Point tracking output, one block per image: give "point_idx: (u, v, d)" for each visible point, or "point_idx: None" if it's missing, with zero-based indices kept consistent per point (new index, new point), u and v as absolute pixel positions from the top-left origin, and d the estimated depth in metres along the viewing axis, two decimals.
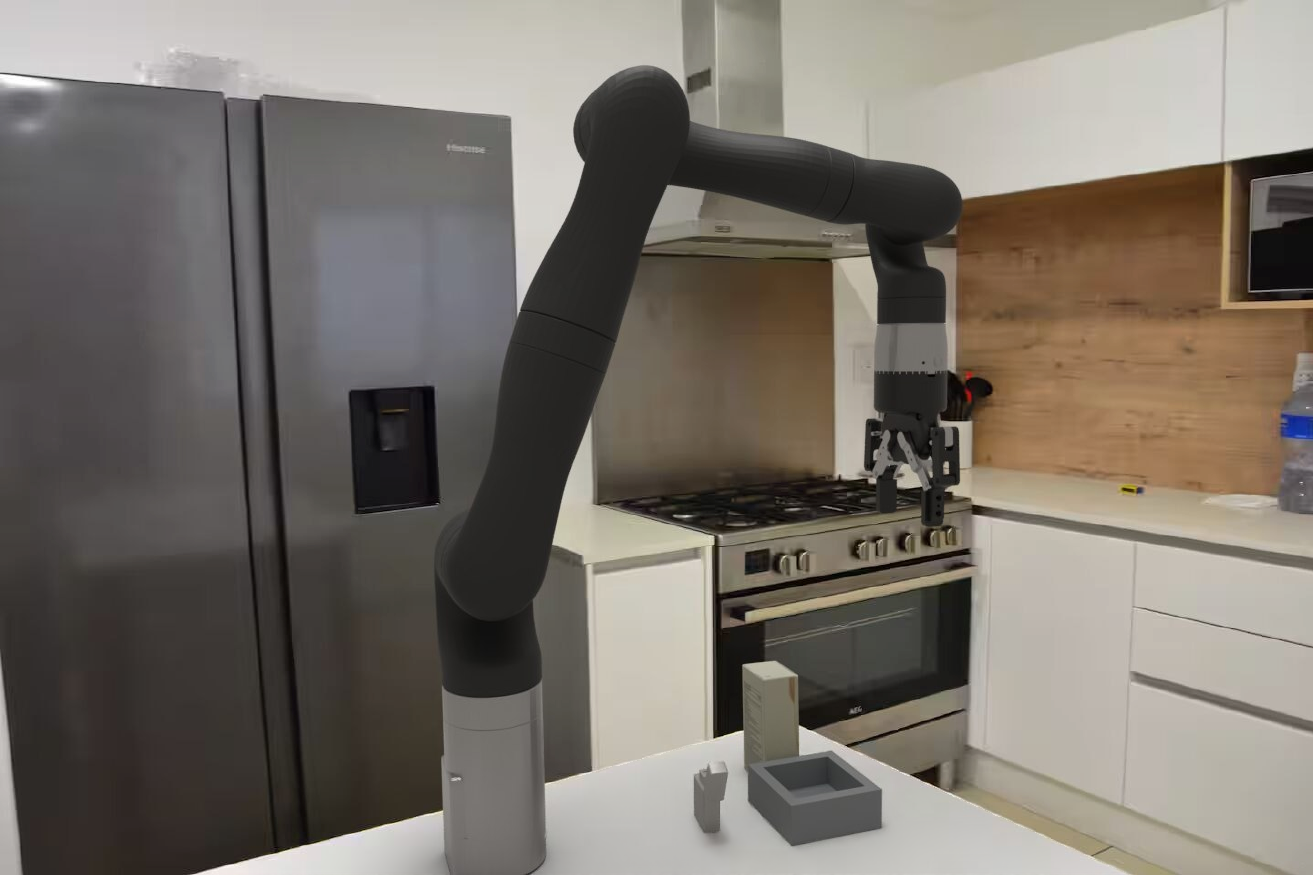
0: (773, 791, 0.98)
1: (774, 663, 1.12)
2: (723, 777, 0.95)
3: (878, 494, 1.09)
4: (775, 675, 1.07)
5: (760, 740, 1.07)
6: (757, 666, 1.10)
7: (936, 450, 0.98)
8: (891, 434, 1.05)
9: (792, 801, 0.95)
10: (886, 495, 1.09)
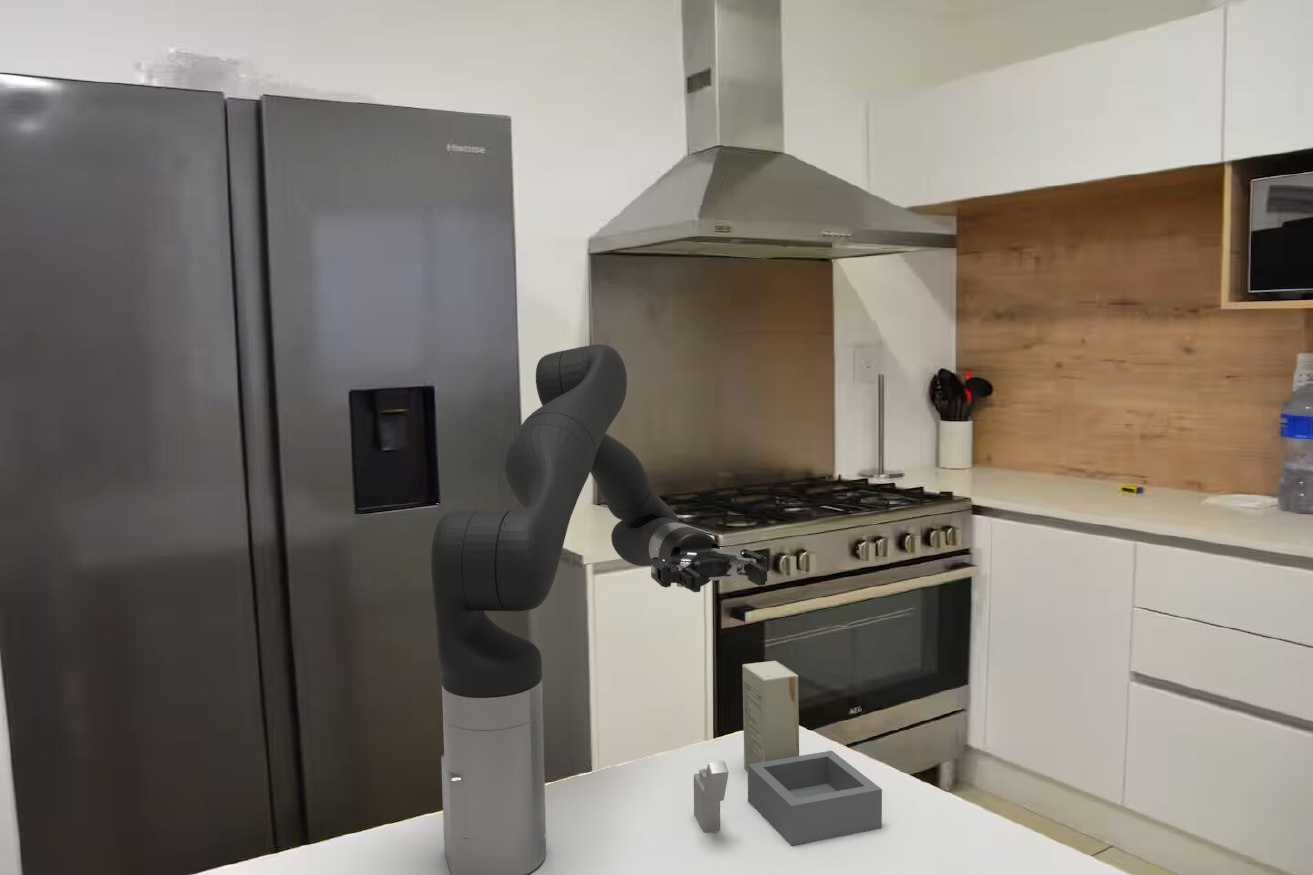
0: (773, 791, 0.98)
1: (774, 663, 1.12)
2: (724, 777, 0.95)
3: (692, 570, 1.19)
4: (775, 675, 1.07)
5: (760, 740, 1.07)
6: (757, 666, 1.10)
7: (751, 552, 1.28)
8: None
9: (792, 801, 0.95)
10: None
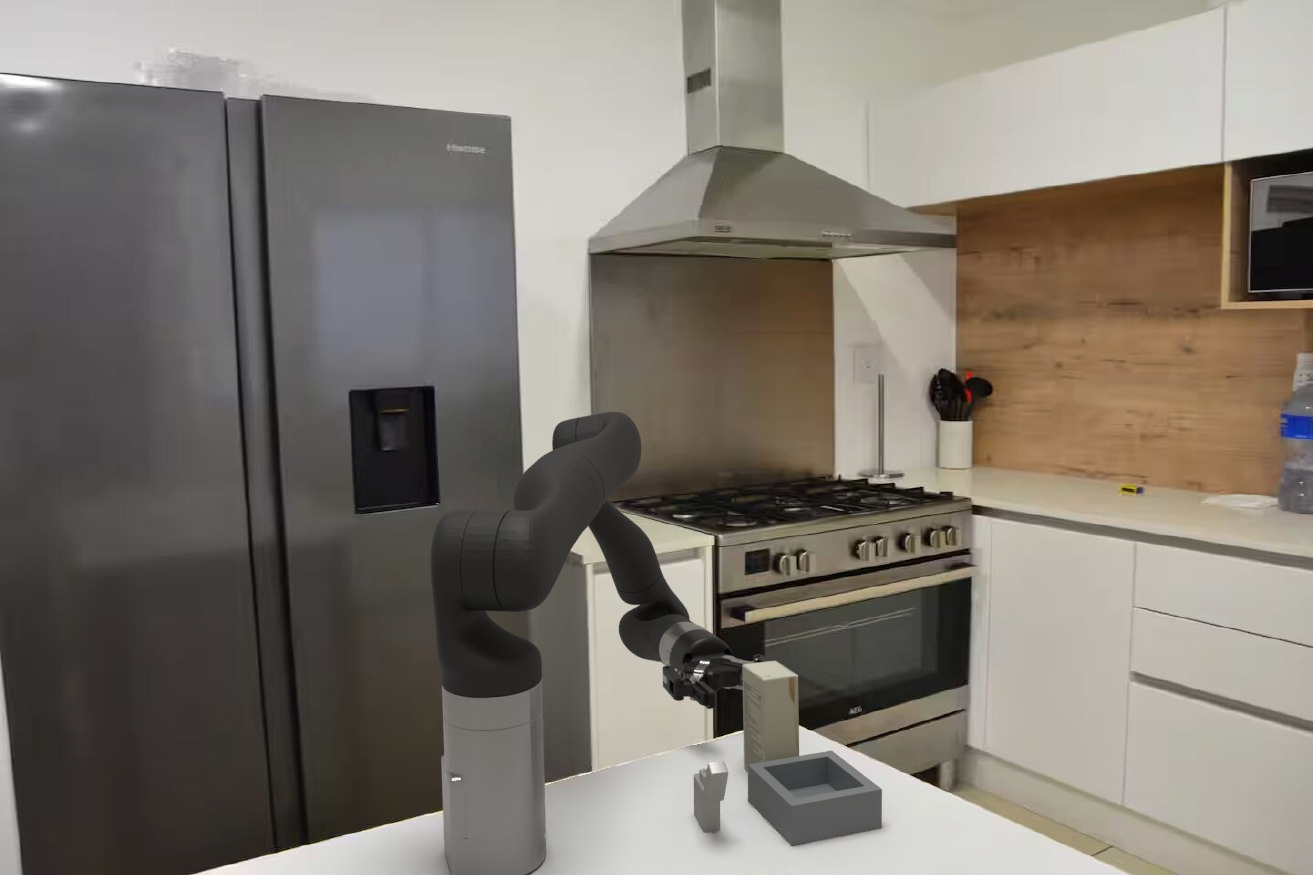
0: (773, 791, 0.98)
1: (774, 663, 1.12)
2: (723, 777, 0.95)
3: (705, 685, 1.16)
4: (775, 675, 1.07)
5: (760, 740, 1.07)
6: (757, 666, 1.10)
7: (765, 659, 1.25)
8: None
9: (792, 801, 0.95)
10: None
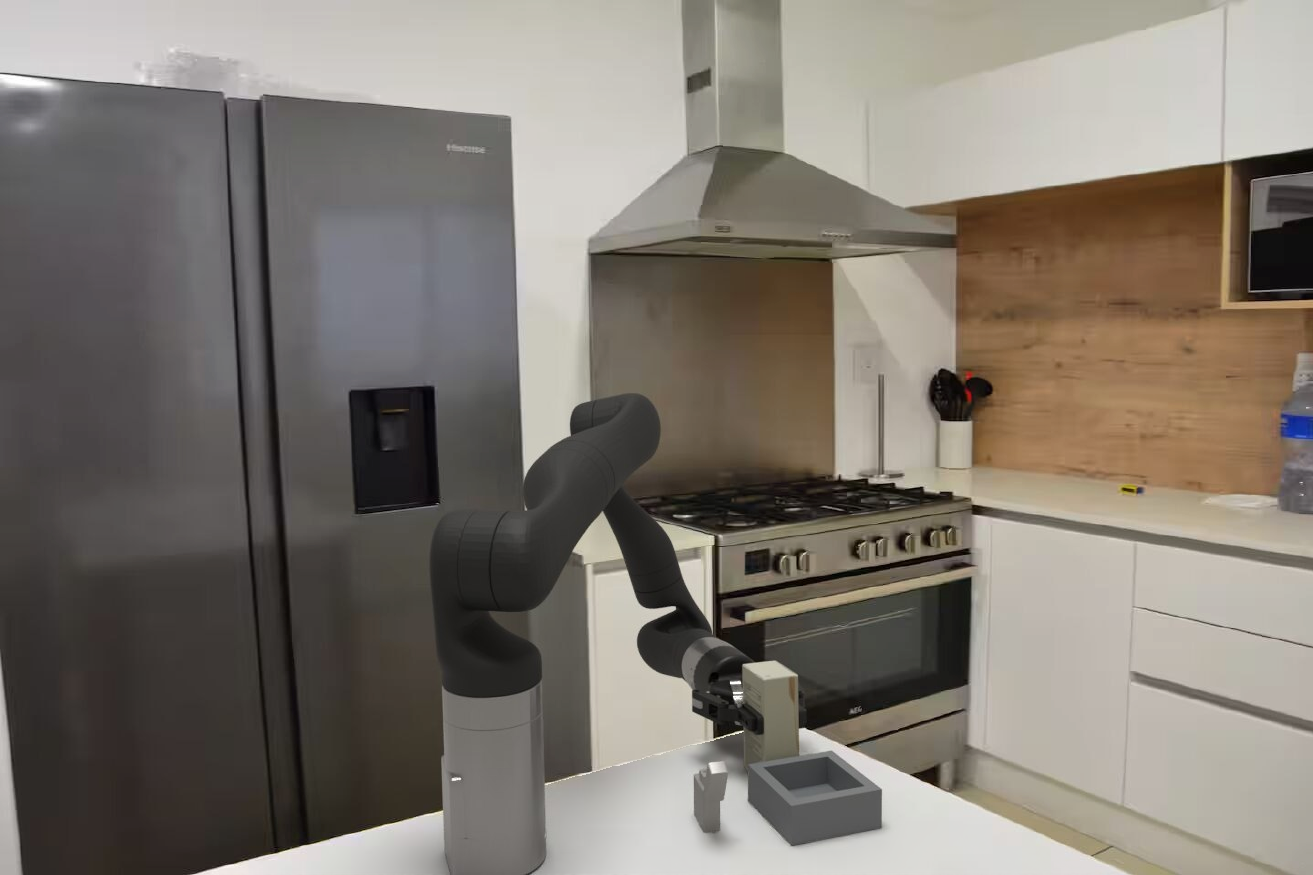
0: (773, 791, 0.98)
1: (774, 663, 1.12)
2: (723, 777, 0.95)
3: (753, 709, 1.08)
4: (775, 674, 1.07)
5: (760, 740, 1.07)
6: (757, 666, 1.10)
7: None
8: None
9: (792, 801, 0.95)
10: None
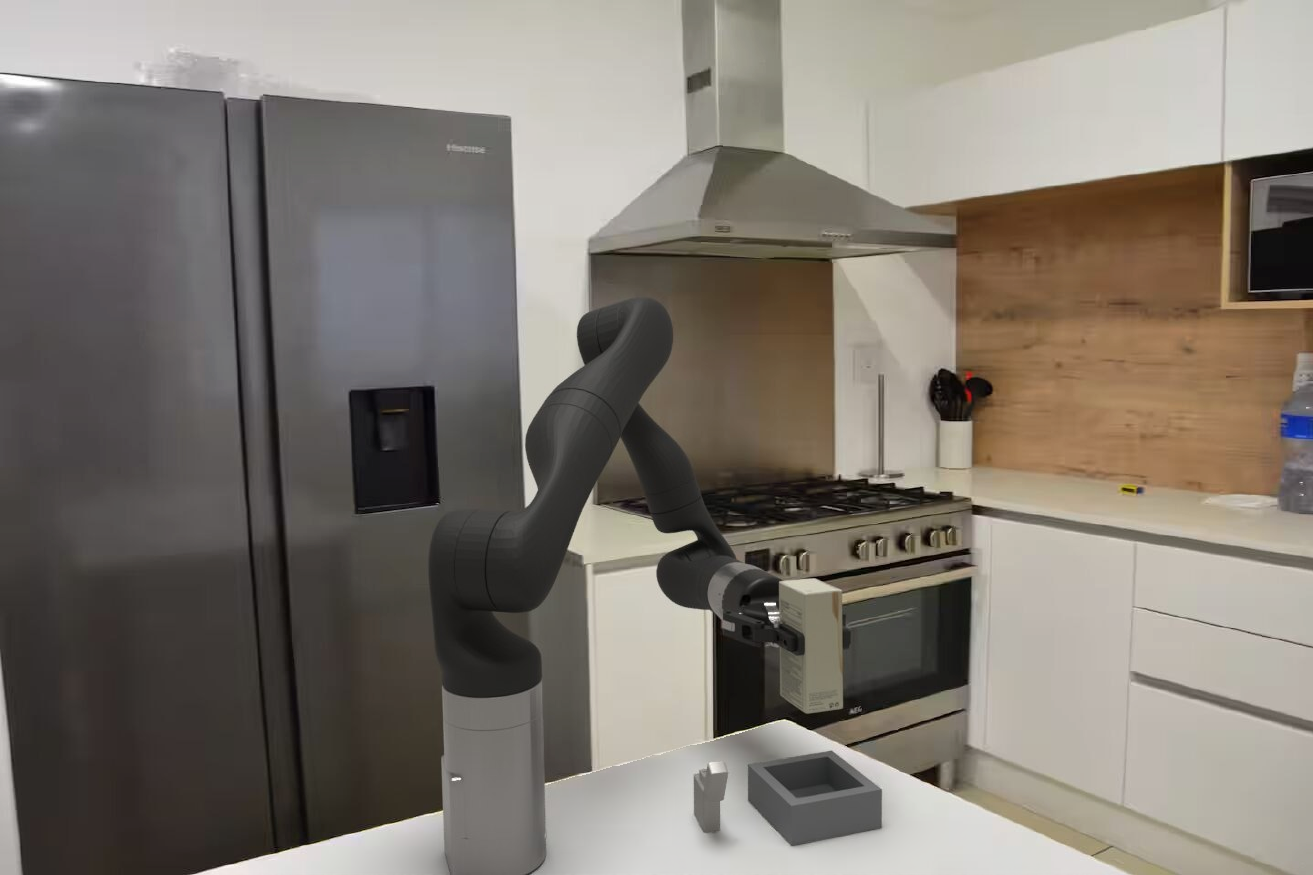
0: (773, 791, 0.98)
1: (814, 580, 1.02)
2: (723, 777, 0.95)
3: (792, 628, 0.98)
4: (816, 590, 0.97)
5: (800, 662, 0.98)
6: (795, 582, 1.01)
7: None
8: None
9: (792, 801, 0.95)
10: None
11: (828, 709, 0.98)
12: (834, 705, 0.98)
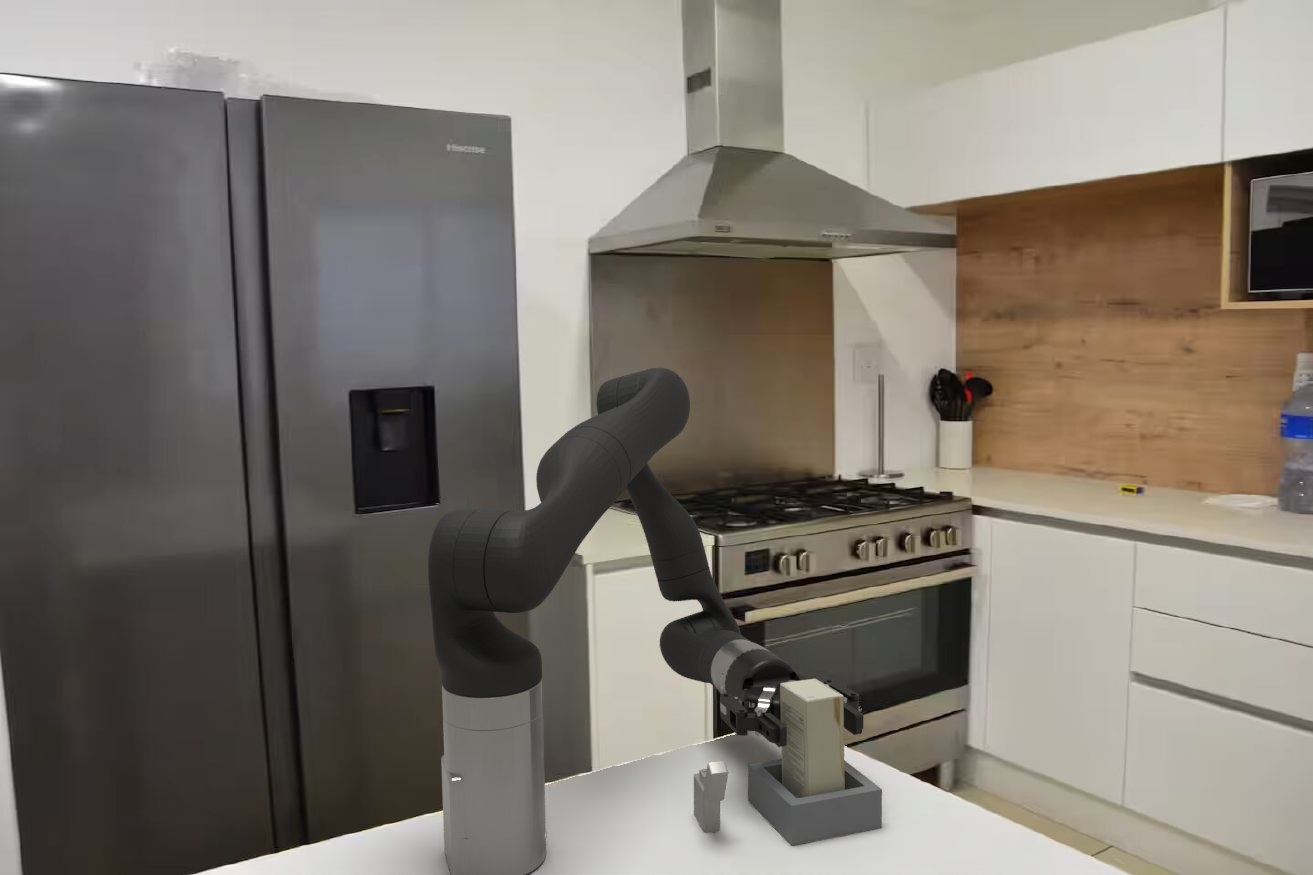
0: (773, 791, 0.98)
1: (814, 681, 1.02)
2: (723, 777, 0.95)
3: (775, 718, 0.99)
4: (818, 695, 0.98)
5: (802, 767, 0.98)
6: (796, 685, 1.01)
7: (838, 685, 1.08)
8: None
9: (792, 801, 0.95)
10: None
11: None
12: None
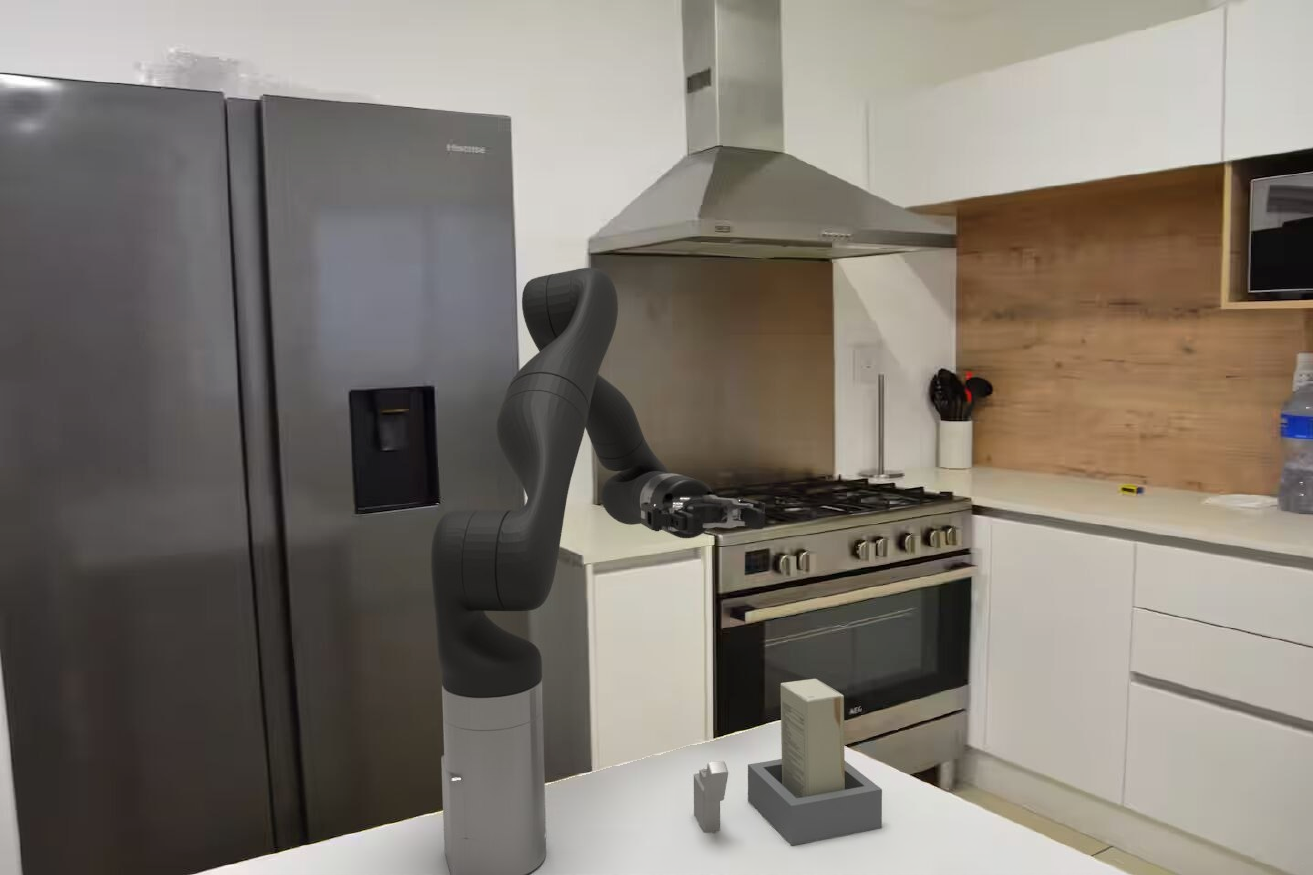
0: (773, 791, 0.98)
1: (815, 681, 1.02)
2: (723, 777, 0.95)
3: (684, 512, 1.11)
4: (818, 695, 0.98)
5: (802, 767, 0.98)
6: (797, 685, 1.01)
7: (749, 500, 1.20)
8: None
9: (792, 801, 0.95)
10: None
11: None
12: None
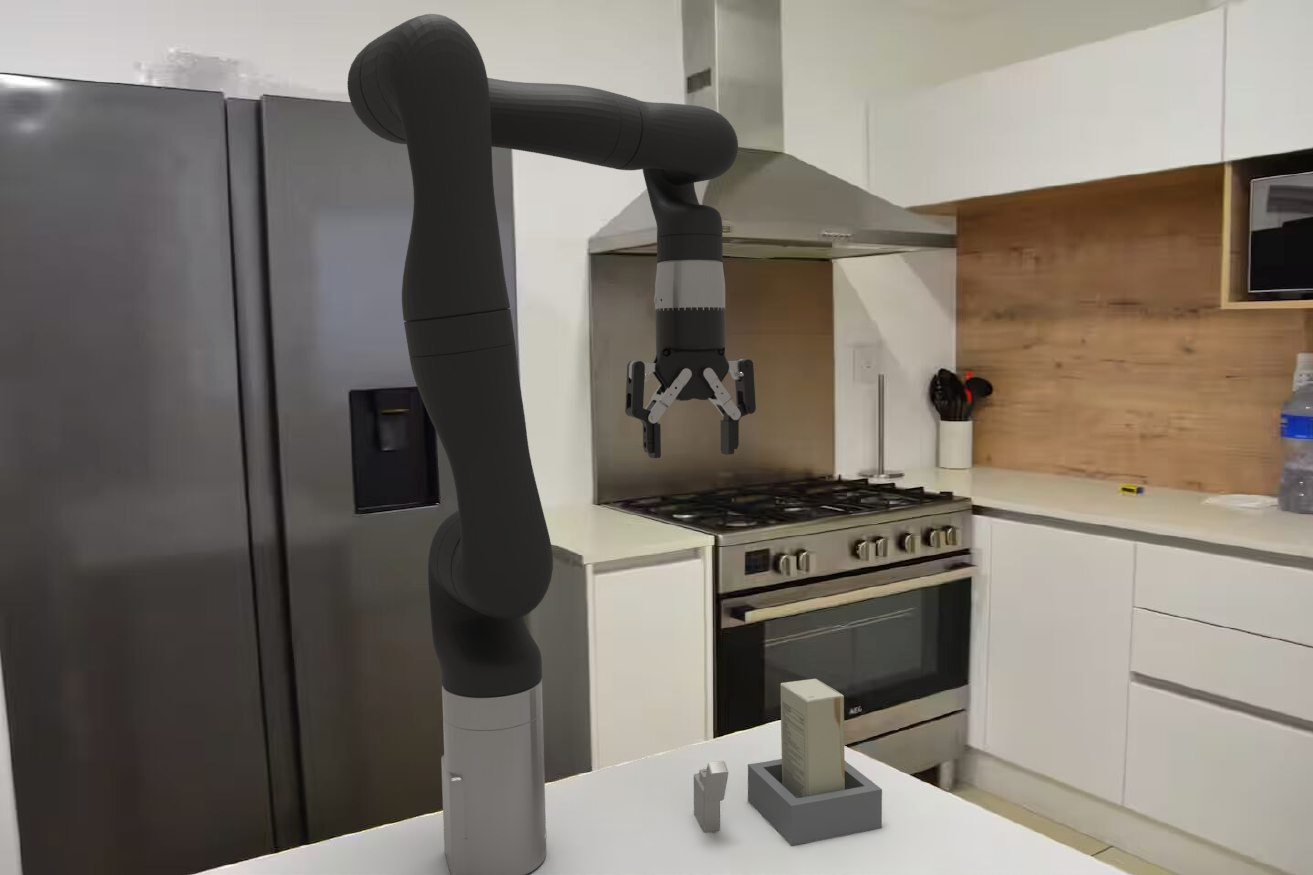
0: (773, 791, 0.98)
1: (815, 681, 1.02)
2: (723, 777, 0.95)
3: (658, 438, 1.04)
4: (818, 695, 0.98)
5: (802, 767, 0.98)
6: (797, 685, 1.01)
7: (750, 380, 1.07)
8: None
9: (792, 801, 0.95)
10: None
11: None
12: None
